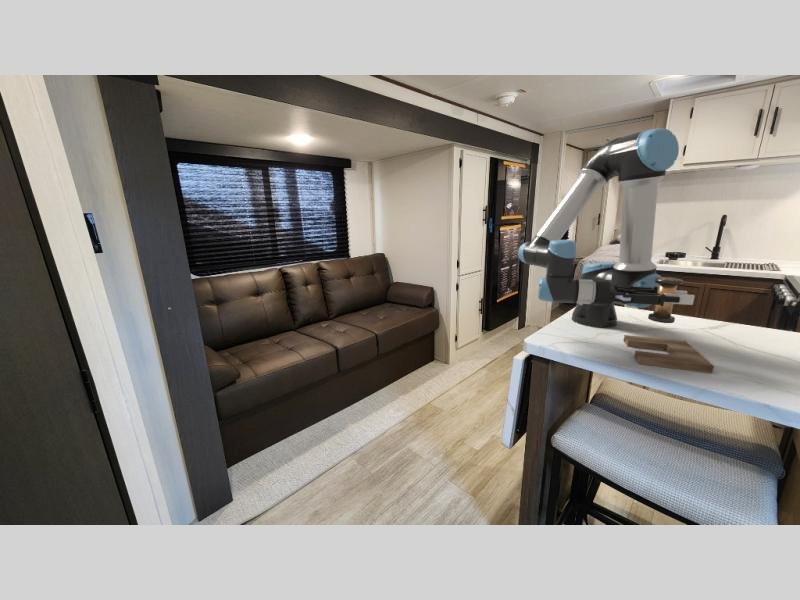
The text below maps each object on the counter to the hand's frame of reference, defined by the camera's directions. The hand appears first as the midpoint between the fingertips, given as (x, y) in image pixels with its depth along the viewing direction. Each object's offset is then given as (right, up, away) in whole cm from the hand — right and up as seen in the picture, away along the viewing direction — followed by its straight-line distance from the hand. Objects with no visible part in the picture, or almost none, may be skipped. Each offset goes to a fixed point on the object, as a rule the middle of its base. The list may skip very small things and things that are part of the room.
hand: (689, 297), depth 89 cm
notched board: (-2, -17, +6) cm, 18 cm away
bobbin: (-5, -6, +4) cm, 9 cm away
